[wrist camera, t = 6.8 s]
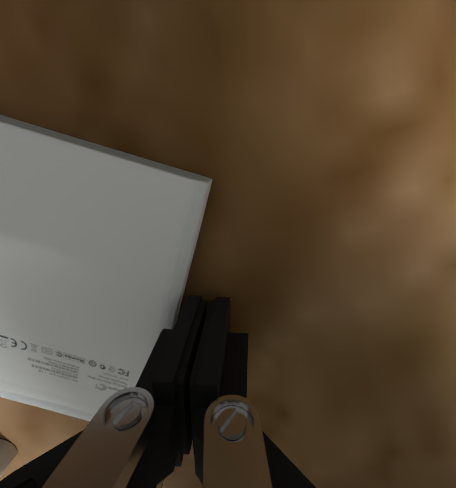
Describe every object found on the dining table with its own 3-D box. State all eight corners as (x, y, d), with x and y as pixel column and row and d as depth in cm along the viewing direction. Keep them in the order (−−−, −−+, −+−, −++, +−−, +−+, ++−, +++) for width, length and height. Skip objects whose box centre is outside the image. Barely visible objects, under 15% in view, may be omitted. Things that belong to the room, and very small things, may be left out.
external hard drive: (215, 176, 10) (155, 408, 14) (-13, 107, 9) (1, 365, 14) (208, 184, 8) (143, 440, 13) (-65, 101, 8) (-29, 393, 13)
